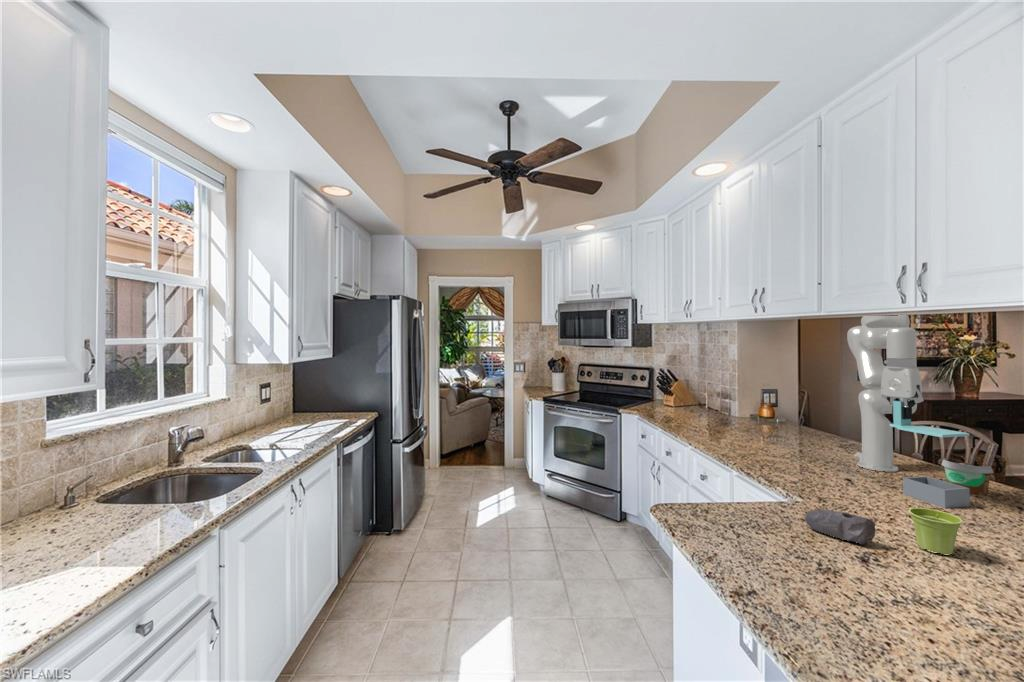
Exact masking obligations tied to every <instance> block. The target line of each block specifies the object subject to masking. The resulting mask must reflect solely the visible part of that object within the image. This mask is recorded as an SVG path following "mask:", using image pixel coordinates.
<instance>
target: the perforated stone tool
mask: <svg viewBox="0 0 1024 682" xmlns="http://www.w3.org/2000/svg"><path fill="white" fill-rule="evenodd" d="M804 521H805V523H806V525H807V526H808V527H809V528H811V529H812V530H814V531H816V532H817V531H819V532H818V533H820V532H821V533H820V534H823V533H824V535H828V536H829V535H831V536H834V537H836V538H835V539H837V538H840V539H843V540H847V541H846V542H857V543H859V545H864V544H868V543H869V544H870V542H871V541H873V539H874V538H875V536H876V531H877V530H876V522H875V521H874V520H872V519H871V518H867V517H863V516H861V515H857V514H852V513H848V512H844V511H839V510H838V511H837V510H831V509H830V510H829V509H813V510H809V511H807V512H806V513H805V516H804ZM831 536H830V537H831ZM834 537H833V538H834ZM840 539H839V540H840ZM843 540H842V541H843ZM857 543H856V544H857Z"/></svg>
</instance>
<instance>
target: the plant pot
mask: <svg viewBox="0 0 1024 682" xmlns="http://www.w3.org/2000/svg"><path fill="white" fill-rule="evenodd" d="M908 513H909V514H910V516H911V519H912V521H913V527H914V531H915V536H916V542H917V546H918V545H919V546H920V547H922V548H924V549H927V550H930V551H933V552H937V553H941V554H940V555H942V554H951V553H953V554H954V549H955V545H956V539H957V535H958V530H959V529H960V526H961V524H962V523H963V519H962V518H960V517H959V516H956V515H954V514H951V513H949V512H946V511H945V512H944V511H941V510H937V509H932V508H926V507H909V509H908ZM919 546H918V547H919ZM920 547H919V548H920Z"/></svg>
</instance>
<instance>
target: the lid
mask: <svg viewBox="0 0 1024 682" xmlns="http://www.w3.org/2000/svg"><path fill="white" fill-rule="evenodd" d="M908 402H909V401H908ZM902 407H904V404H903V400H902V401H893V414H892V419H893V423H891V424H890V426H891V427H893V428H896V429H897V430H901V431H905V432H911V433H915V434H923V435H926V436H933V437H938V438H958V437H961V438H962V437H971V436H970V433H969V432H963V431H957V430H952V429H951V430H950V429H945V428H938V427H935V426H928V425H914V424H912V419H902Z"/></svg>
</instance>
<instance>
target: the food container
mask: <svg viewBox="0 0 1024 682" xmlns="http://www.w3.org/2000/svg"><path fill="white" fill-rule="evenodd" d="M941 466H942V467H944V471H945V479H946V482H948V483H952V484H956V485H959V486H963V487H966V488H969V490H970V495H977V496H978V495H979V496H985V497H988V495H989V494H988V492H989V487H990V480H991V474H994V470H993V468H992V466H991V465H990V466H977V465H973V464H971V463H965V462H956V461H955V462H954V461H951V460H950V461H949V460H947V459H946V458H945V457H944V458H943V460H942V461H941Z"/></svg>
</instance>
